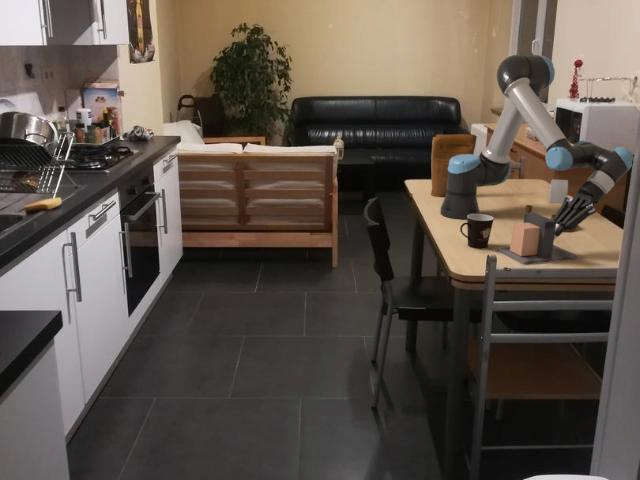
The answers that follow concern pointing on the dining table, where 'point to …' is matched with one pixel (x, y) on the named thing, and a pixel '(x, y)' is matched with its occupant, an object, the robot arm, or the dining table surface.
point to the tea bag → (558, 191)
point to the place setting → (529, 209)
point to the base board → (557, 255)
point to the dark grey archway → (543, 233)
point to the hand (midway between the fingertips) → (546, 241)
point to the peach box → (525, 239)
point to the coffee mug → (478, 230)
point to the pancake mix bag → (447, 157)
